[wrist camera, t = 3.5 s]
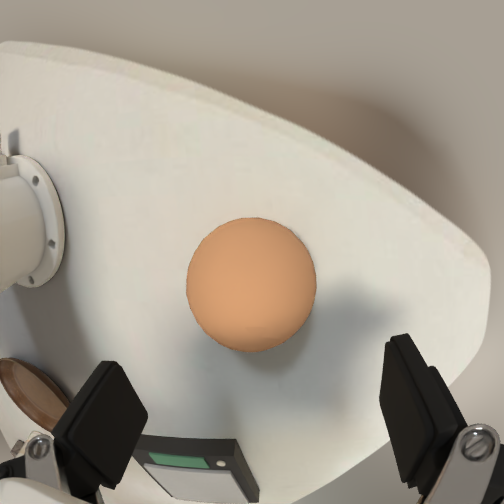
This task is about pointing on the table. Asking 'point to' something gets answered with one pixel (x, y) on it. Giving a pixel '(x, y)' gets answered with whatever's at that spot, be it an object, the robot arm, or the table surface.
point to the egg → (251, 284)
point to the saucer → (33, 392)
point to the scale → (198, 469)
